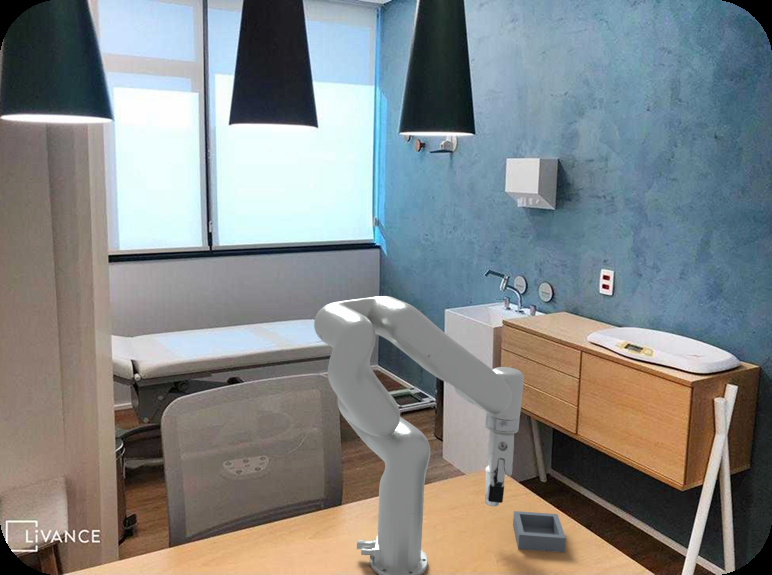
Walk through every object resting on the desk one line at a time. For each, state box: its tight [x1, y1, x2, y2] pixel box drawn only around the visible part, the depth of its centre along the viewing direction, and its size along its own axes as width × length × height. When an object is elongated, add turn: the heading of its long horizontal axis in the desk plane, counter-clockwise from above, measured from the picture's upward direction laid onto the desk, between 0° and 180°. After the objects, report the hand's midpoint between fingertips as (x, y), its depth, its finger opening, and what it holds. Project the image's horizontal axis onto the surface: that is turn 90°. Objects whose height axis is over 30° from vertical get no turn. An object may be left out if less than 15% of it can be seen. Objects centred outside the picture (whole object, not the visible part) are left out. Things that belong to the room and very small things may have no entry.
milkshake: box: [484, 465, 506, 507], centre depth 152 cm, size 4×5×10 cm
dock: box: [512, 510, 567, 554], centre depth 154 cm, size 10×10×4 cm
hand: (494, 495), depth 152 cm, fingers closed on milkshake, 4 cm apart
